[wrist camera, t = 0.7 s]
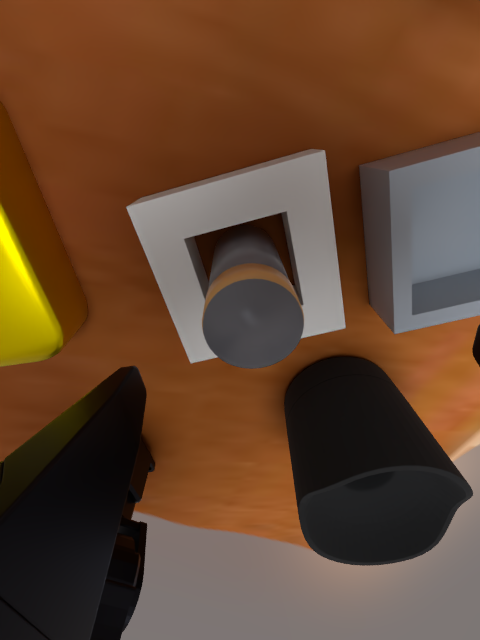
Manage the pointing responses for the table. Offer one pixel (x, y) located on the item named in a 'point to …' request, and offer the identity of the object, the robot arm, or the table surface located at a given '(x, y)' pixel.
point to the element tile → (31, 265)
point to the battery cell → (250, 301)
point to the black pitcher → (366, 466)
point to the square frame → (235, 208)
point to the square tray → (423, 234)
